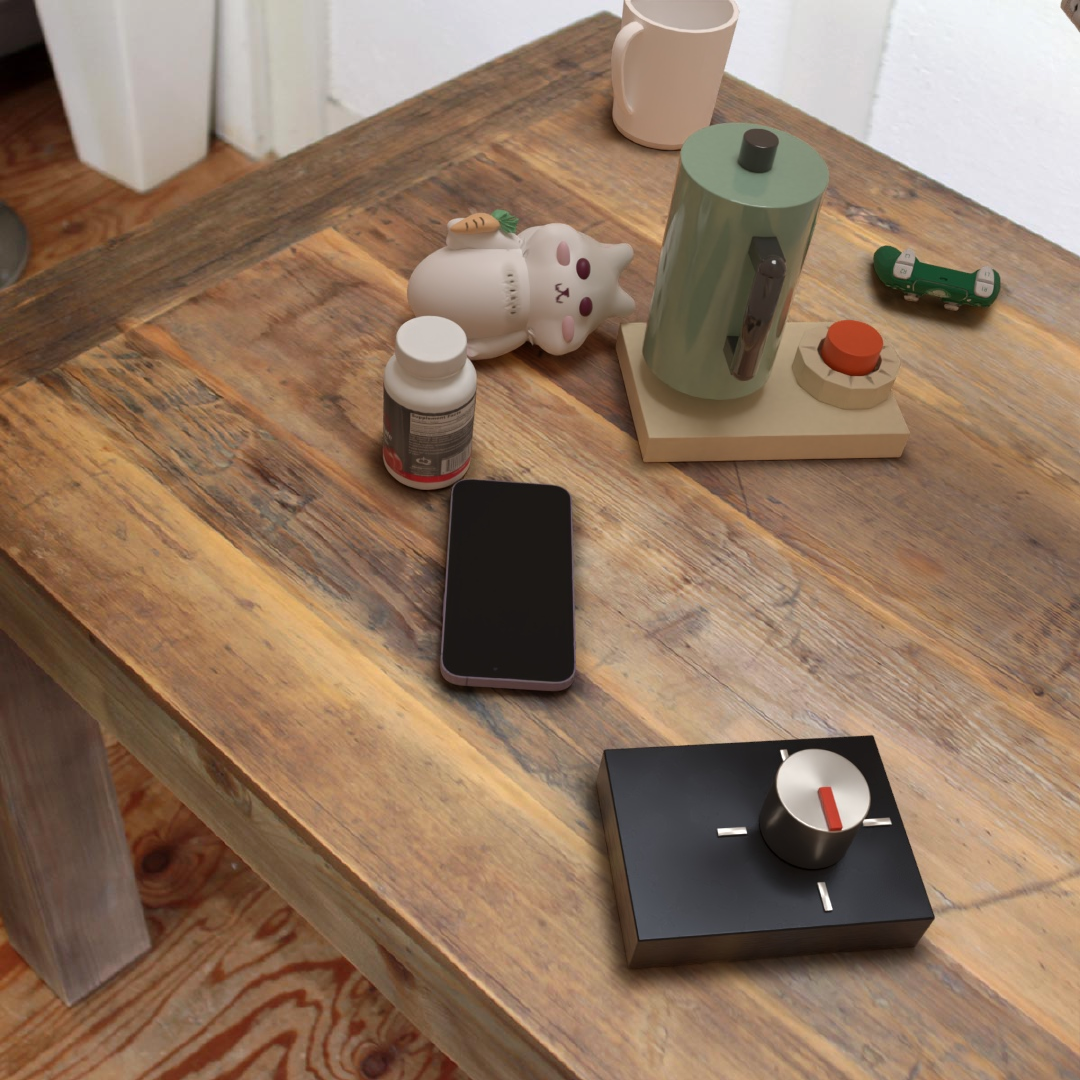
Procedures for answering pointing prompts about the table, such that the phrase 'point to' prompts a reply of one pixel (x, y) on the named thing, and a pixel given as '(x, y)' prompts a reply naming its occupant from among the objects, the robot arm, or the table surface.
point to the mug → (669, 67)
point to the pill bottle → (428, 404)
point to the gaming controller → (935, 279)
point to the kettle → (731, 258)
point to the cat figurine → (521, 284)
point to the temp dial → (814, 808)
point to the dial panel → (747, 859)
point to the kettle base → (769, 407)
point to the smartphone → (509, 587)
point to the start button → (852, 347)
